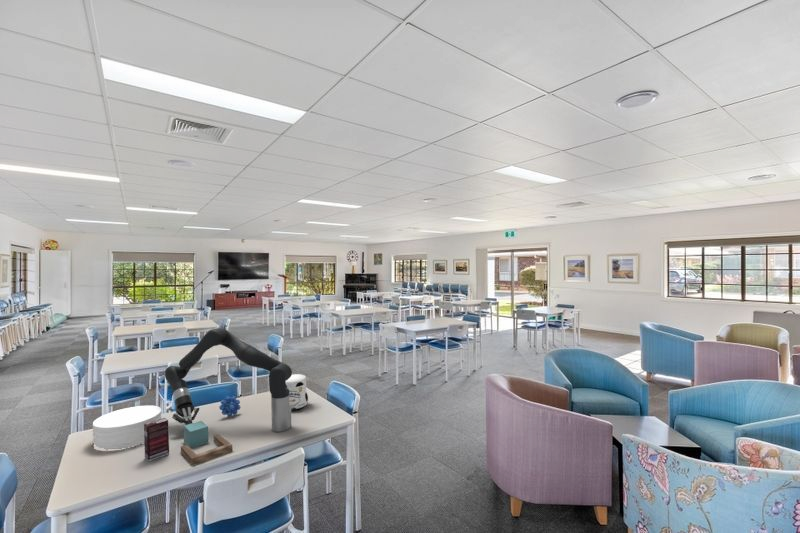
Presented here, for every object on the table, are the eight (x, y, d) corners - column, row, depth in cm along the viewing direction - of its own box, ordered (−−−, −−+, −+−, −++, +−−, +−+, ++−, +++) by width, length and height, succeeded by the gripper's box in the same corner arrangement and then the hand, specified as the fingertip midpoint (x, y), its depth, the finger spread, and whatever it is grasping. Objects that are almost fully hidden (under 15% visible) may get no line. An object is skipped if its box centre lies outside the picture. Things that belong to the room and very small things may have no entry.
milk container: (286, 415, 212) (285, 384, 212) (273, 407, 225) (273, 377, 225) (313, 407, 224) (312, 377, 224) (299, 400, 237) (299, 372, 237)
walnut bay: (219, 440, 182) (219, 434, 182) (232, 451, 171) (232, 444, 171) (180, 452, 170) (180, 446, 170) (192, 465, 159) (192, 458, 159)
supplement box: (165, 451, 172) (165, 417, 172) (169, 454, 169) (168, 419, 169) (143, 458, 165) (143, 423, 165) (147, 462, 162) (147, 426, 162)
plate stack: (145, 422, 206) (145, 402, 206) (172, 433, 191) (172, 411, 191) (83, 443, 182) (82, 420, 182) (108, 457, 167) (108, 432, 167)
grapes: (222, 421, 205) (221, 400, 205) (218, 418, 210) (217, 397, 210) (243, 415, 213) (243, 394, 213) (238, 412, 218) (238, 392, 218)
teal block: (201, 436, 187) (201, 420, 187) (208, 442, 180) (208, 426, 180) (184, 441, 181) (183, 425, 181) (190, 448, 174) (190, 431, 174)
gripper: (169, 398, 189) (176, 428, 181) (197, 391, 199) (205, 420, 190) (166, 405, 193) (173, 436, 184) (194, 399, 202) (202, 427, 194)
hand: (190, 428), depth 187 cm, fingers closed
